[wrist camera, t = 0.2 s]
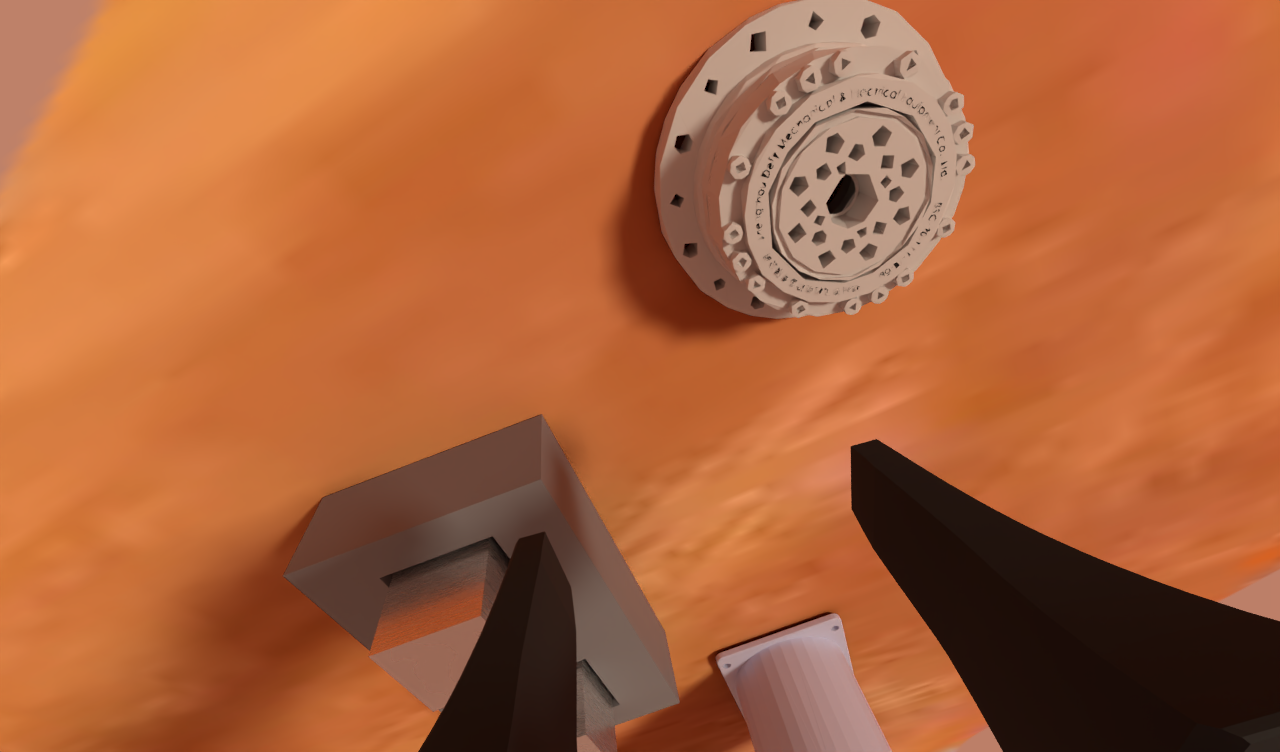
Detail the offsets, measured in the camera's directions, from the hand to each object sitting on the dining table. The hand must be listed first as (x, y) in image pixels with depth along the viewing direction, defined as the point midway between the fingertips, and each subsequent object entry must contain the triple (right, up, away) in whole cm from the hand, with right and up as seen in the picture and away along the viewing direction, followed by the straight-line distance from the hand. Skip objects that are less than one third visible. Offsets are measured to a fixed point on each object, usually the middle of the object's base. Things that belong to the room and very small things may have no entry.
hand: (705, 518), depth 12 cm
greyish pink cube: (-8, -5, +9) cm, 14 cm away
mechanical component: (+4, +11, +7) cm, 13 cm away
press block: (-7, -7, +14) cm, 18 cm away
